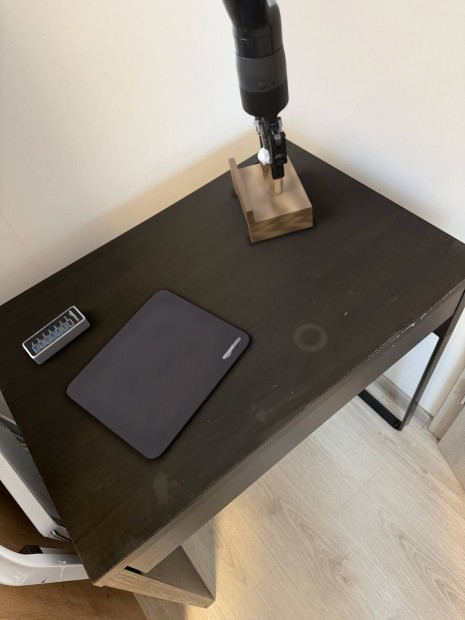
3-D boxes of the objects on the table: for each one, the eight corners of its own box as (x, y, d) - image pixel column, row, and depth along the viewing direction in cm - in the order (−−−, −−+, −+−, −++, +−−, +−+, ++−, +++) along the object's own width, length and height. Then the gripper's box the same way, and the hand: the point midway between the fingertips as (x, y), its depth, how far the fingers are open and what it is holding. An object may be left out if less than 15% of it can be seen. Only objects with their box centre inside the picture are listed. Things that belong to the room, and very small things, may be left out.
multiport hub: (28, 350, 84) (21, 343, 82) (78, 312, 87) (73, 304, 86) (39, 365, 82) (32, 358, 80) (90, 325, 85) (85, 318, 83)
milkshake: (276, 202, 88) (271, 158, 80) (258, 190, 91) (251, 146, 83) (294, 190, 89) (291, 145, 81) (275, 178, 92) (270, 133, 84)
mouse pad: (154, 464, 68) (154, 463, 68) (62, 391, 78) (62, 391, 78) (253, 337, 78) (253, 337, 78) (161, 287, 87) (161, 286, 87)
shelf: (289, 175, 100) (286, 142, 93) (313, 226, 90) (311, 194, 84) (234, 190, 100) (228, 158, 93) (252, 243, 90) (246, 212, 84)
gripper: (299, 93, 68) (304, 183, 81) (273, 48, 76) (282, 137, 90) (249, 107, 68) (262, 195, 81) (229, 61, 77) (243, 147, 90)
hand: (272, 164), depth 85 cm, fingers open, 7 cm apart
